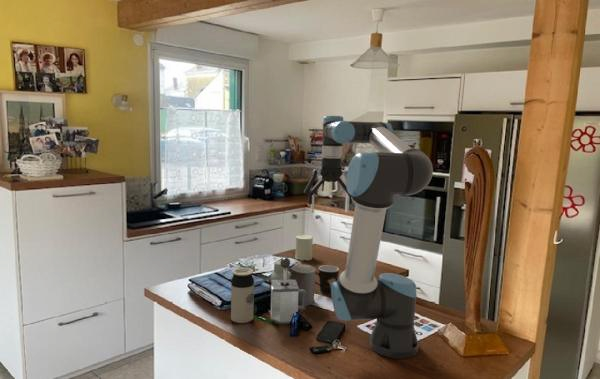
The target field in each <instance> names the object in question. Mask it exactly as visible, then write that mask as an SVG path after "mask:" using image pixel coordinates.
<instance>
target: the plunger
mask: <svg viewBox="0 0 600 379" xmlns="http://www.w3.org/2000/svg"><path fill="white" fill-rule="evenodd" d="M280 261H281V262H280V264H281V266H282V267H283V268H284V271H283V286H286V285H287V271H288V270H287V267H288V268H289V267H290V265H291V260H290V259H289V258H288V257H283V258H281V259H280Z"/></svg>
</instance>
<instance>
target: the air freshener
mask: <svg viewBox="0 0 600 379" xmlns="http://www.w3.org/2000/svg"><path fill="white" fill-rule="evenodd" d="M280 262H281V260H276V261H274V263H273V270H272V271H271V272H270V283H271V280H283V271H284V268H283V267H282V266H281V264H280ZM288 268H289V267H287V280H291V272H290V271H289V270H288Z"/></svg>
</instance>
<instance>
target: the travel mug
mask: <svg viewBox="0 0 600 379" xmlns="http://www.w3.org/2000/svg"><path fill="white" fill-rule="evenodd" d="M253 273H254V270H253V269H252V268H250V267H237V268H233V269H232V271H231V274H232V278H231V279H230V280H231V281H230V285H231V287H230V291H231V292H230V293H231V294H230V295H231V296H230V299H231V300H230V301H231V302H230V306H231V307H230V319H231V321H232V322H234V323H236V324H247V323H249V322H251V321H253V319H254V306H255V305H254V302H255V298H254V297H255V294H254V293H255V279H254V276H253Z"/></svg>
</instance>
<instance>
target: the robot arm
mask: <svg viewBox="0 0 600 379" xmlns="http://www.w3.org/2000/svg"><path fill="white" fill-rule="evenodd" d="M348 143H349V144H370V145H371V146H373V147H374V149H375V150H376V151H377V152H375V151H369V152H358V153H356V154H355V155H354V156H353V157H352V159H350V161H349V165H348V167H347V169H346V170H342V164H343V162H342V161H343V160H342V156H343V144H348ZM321 155H322V158H321V168H320V170H318V169H312V174H311V177H310V179H309V181H308V183H307V185H306V186H305V188H304V190H303V194H305V195H307V196H308V200H307V202H308V204H309V205H310V213H311V214H315V213H314V212H315V195H314V194H315V193H316V192H317V191H318V190H319V188H320V187H321V186H322V185H323V184H324V183H325V182H327V183H331V182H332V183H336V182H337V183H338V184H339V185H340V186H341V187H342V189H343V190H344V191H345V193H346V194H347V195H345V205H344V206H345V207H344V208H345V209H344V212H345V213H346V214H349V212H350V205H352V202H353V203H354V205H355V207H354V213H353V218H352V224H351V231H350V237H349V238H350V239H349V247H348V250H347V259H346V264H345V270H343V271H342V272H341V273H340V274H339V276H338V280H337V281H335V282H333V283H332V285H331V294H330V295H331V302H332V306H333V310H334V313H335V315H336V316H335V317H336V318H338V320H340V321H350V322H351V321H359V320H374V319H375V320H376V322H375V325H374V327H373V328H372V331H371V334H370V337H369V346H370V348H371V349H372V351H373V352H375V353H377V354H379V355H381V356H383V357H386V358H389V359H390V358H391V359H397V360H398V359H399V360H403V359H405V360H406V359H410V358H412V357H414V356H416V355H417V353H418V350H419V342H418V338H417V334H416V329H415V316H416V304H417V303H416V302H417V296H418V295H417V285H416V283H415V281H413V280H412V279H411V278H410V277H407V276H405V275H401V274H398V273H393V272H391V273H390V272H384V273H381V274H379V276H378V279H377V277H375V272H376V267H377V262H378V261H377V260H378V257H379V250H380V246H381V239H382V235H383V229H384V224H385V217H386V213H387V210H388V209H389V208H391V207H392V206H393V204H394V203H395V202H394V201H395V197H397V196H398V197H399V196H413V195H416V194H419V193H420V192H422V191H423V190H425V188H427V187H428V185H429V184H430V182H431V180H432V178H433V174H434V172H433V171H434V168H433V163H432V161H431V159H430V158H429V157H428V156H427V154H425V153H424V152H423V151H422V150H420V149H418V148H415V147H413V148H412V147H411V146H410V145H408V144H407V143H406V142H405V141H403V140H402V139H400V138H399V137H398V136H397V135H395V134H394V129H393V126H392V125H391V123H389V122H383V121H349V120H344V116H342V115H325V116H324V117H323V121H322V147H321ZM319 175H320V176H321V177H320V178H319V181H317V183H316V184H315V185H314V182H315V181H316V179H317V177H318V176H319ZM342 176H344V177H345V179H346V182H345V183H344V182H343V179H341V177H342ZM313 185H314V186H313ZM312 186H313V187H312Z"/></svg>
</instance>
